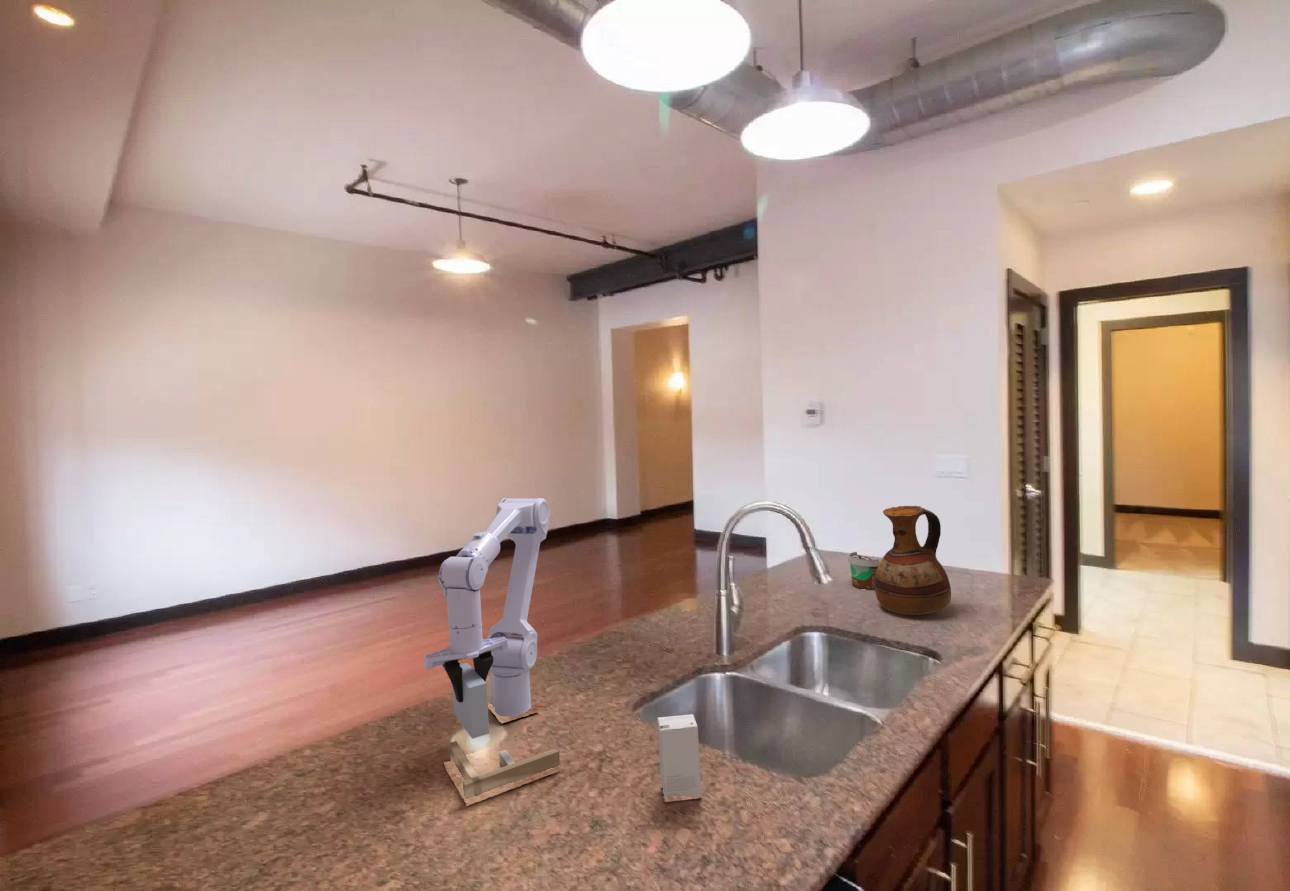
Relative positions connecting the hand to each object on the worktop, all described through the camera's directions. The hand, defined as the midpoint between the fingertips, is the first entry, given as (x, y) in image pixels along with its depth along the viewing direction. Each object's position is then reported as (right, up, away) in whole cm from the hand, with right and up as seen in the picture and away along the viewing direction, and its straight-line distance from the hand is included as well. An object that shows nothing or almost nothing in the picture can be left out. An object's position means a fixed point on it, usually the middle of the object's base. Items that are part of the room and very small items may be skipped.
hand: (469, 697), depth 112 cm
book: (0, -5, 0) cm, 5 cm away
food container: (+101, -1, +89) cm, 135 cm away
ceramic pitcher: (+108, -2, +66) cm, 127 cm away
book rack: (+7, -11, -4) cm, 13 cm away
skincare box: (+37, -10, -14) cm, 41 cm away
